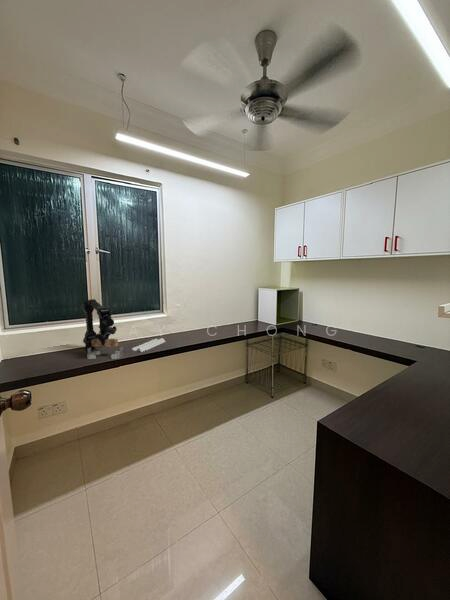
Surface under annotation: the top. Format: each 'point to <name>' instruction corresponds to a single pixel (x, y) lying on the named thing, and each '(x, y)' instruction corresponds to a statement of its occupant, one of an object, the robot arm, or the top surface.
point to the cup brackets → (93, 354)
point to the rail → (107, 343)
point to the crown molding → (148, 345)
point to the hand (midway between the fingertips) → (104, 344)
